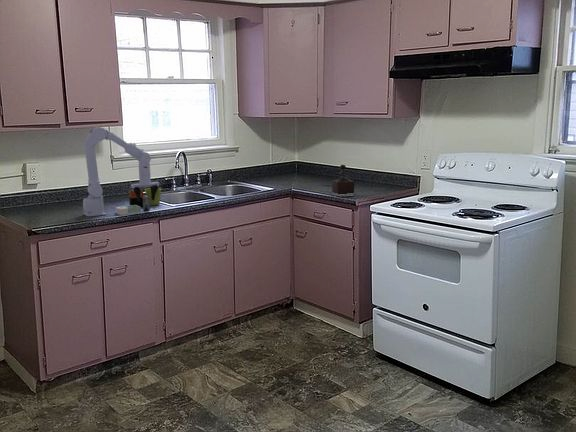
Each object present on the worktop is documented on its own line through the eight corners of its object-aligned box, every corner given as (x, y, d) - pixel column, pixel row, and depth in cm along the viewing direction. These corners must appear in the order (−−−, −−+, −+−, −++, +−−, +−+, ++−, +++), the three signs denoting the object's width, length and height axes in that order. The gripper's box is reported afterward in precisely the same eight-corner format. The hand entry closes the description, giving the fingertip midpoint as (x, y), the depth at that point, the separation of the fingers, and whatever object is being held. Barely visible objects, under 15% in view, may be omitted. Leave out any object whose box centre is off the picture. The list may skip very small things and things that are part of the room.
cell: (144, 211, 305) (144, 197, 304) (142, 210, 308) (141, 196, 306) (150, 210, 307) (149, 196, 306) (148, 209, 310) (147, 195, 308)
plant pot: (149, 202, 330) (148, 187, 328) (165, 203, 328) (164, 188, 326) (142, 205, 321) (141, 190, 319) (158, 206, 319) (157, 190, 317)
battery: (129, 207, 316) (128, 189, 314) (142, 206, 319) (141, 188, 317) (131, 208, 312) (130, 190, 310) (144, 207, 316) (143, 189, 314)
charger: (120, 215, 295) (120, 208, 294) (115, 212, 301) (114, 206, 301) (142, 212, 301) (142, 206, 300) (136, 210, 308) (136, 204, 307)
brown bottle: (355, 196, 352) (356, 167, 348) (339, 197, 348) (339, 167, 344) (343, 192, 366) (344, 164, 362) (327, 193, 362) (328, 164, 358)
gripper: (134, 176, 297) (135, 203, 299) (160, 174, 305) (162, 200, 308) (129, 175, 302) (130, 201, 305) (155, 173, 310) (156, 198, 313)
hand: (146, 200), depth 307 cm, fingers open, 7 cm apart
